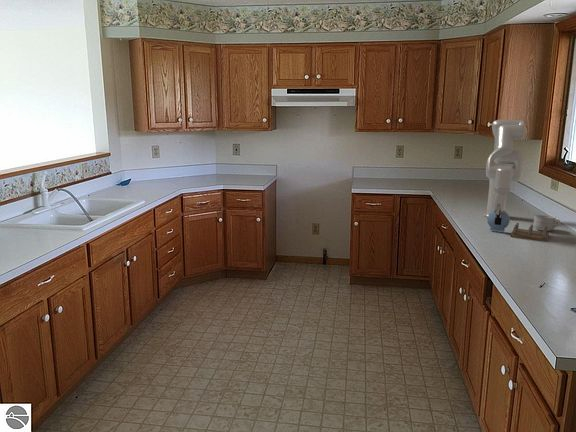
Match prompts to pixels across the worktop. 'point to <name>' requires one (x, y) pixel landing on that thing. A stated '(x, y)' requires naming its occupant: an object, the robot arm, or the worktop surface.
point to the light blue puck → (504, 221)
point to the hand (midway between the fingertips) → (498, 223)
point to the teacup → (545, 222)
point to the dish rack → (530, 233)
